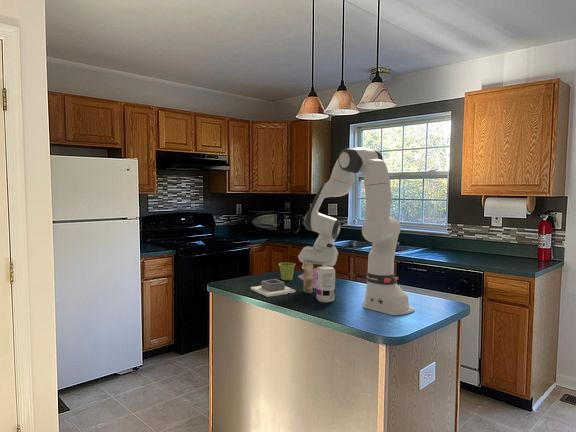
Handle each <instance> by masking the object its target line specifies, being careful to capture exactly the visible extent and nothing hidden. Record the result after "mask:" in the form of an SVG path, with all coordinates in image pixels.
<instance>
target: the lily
mask: <svg viewBox="0 0 576 432" xmlns="http://www.w3.org/2000/svg"><path fill="white" fill-rule="evenodd" d="M319 267H320V266H317V267H315V268H313V289H315V288H316V289H317V270H318V268H319ZM297 277H298V278H299V279H301V280H302V281H304V273H302V274H300V275H297Z"/></svg>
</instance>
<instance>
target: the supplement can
mask: <svg viewBox="0 0 576 432" xmlns="http://www.w3.org/2000/svg"><path fill="white" fill-rule="evenodd" d="M318 267H319V268H318V270H317V288H316V296H315V297H316V300H317V301H318V302H319V303H331V302H334V301H335V290H336V269H335V267H333V266H322V265H321V266H318Z"/></svg>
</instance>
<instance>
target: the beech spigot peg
mask: <svg viewBox="0 0 576 432" xmlns="http://www.w3.org/2000/svg"><path fill="white" fill-rule="evenodd" d="M313 269H314V264H313V263H304V269H303V274H304V280H303V293H304V292H305V293H304V294H311V293H312V294H313V293H314V291H313V289H314V288H313Z"/></svg>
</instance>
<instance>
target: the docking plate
mask: <svg viewBox="0 0 576 432" xmlns="http://www.w3.org/2000/svg"><path fill="white" fill-rule="evenodd" d="M260 284H261V285H258V286H250V291H253V292H255V293H257V294H260V295H263V296H264V297H267V298H269V297H275V296H282V295H289V294H288V293H290V294H296V293H295V292H296V289H293V288H291V287H288V286H286V282H285V281H284V280H283V281H282V280H280V279H277V278H273V279H266V280H261V282H260Z"/></svg>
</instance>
